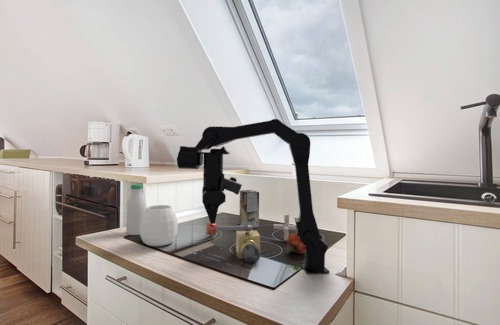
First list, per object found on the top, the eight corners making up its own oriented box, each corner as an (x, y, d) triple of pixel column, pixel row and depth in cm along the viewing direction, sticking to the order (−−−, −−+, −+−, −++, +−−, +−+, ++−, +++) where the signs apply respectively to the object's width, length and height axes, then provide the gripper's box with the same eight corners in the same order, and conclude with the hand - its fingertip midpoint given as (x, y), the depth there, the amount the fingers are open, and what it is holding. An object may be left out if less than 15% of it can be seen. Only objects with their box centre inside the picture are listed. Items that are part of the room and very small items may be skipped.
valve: (263, 263, 90) (263, 236, 89) (240, 264, 89) (240, 237, 88) (253, 245, 106) (253, 223, 106) (234, 246, 105) (234, 223, 105)
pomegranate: (297, 265, 95) (318, 243, 98) (284, 248, 93) (305, 227, 97) (287, 259, 102) (306, 239, 105) (274, 243, 100) (294, 224, 104)
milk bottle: (146, 234, 118) (147, 185, 118) (126, 236, 115) (126, 185, 115) (146, 229, 125) (146, 183, 125) (126, 231, 123) (126, 183, 122)
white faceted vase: (139, 239, 111) (140, 204, 111) (175, 237, 116) (175, 203, 115) (139, 251, 99) (140, 211, 98) (179, 247, 103) (180, 209, 103)
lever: (251, 231, 99) (251, 221, 99) (253, 233, 96) (253, 223, 96) (206, 232, 97) (206, 222, 97) (206, 235, 93) (207, 225, 93)
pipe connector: (298, 245, 108) (299, 218, 108) (271, 242, 110) (272, 216, 110) (299, 237, 118) (300, 212, 118) (275, 235, 120) (275, 211, 120)
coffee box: (259, 227, 133) (260, 192, 133) (246, 228, 130) (247, 192, 130) (250, 222, 142) (251, 189, 141) (238, 223, 139) (239, 190, 138)
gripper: (244, 171, 79) (243, 228, 80) (236, 168, 98) (235, 214, 98) (202, 171, 77) (202, 229, 78) (202, 167, 96) (202, 215, 96)
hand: (212, 221), depth 88 cm, fingers open, 5 cm apart
